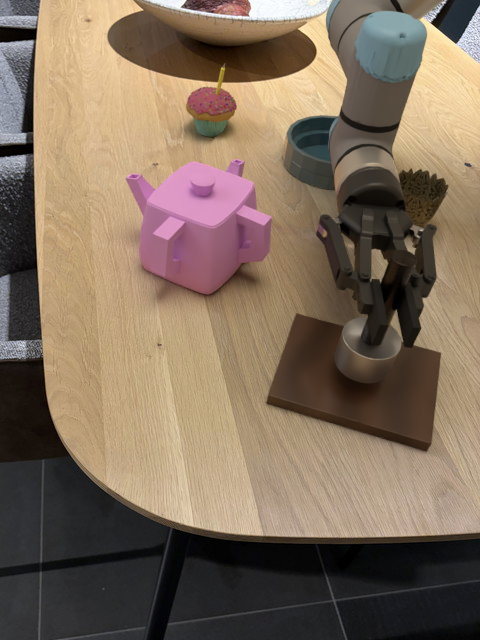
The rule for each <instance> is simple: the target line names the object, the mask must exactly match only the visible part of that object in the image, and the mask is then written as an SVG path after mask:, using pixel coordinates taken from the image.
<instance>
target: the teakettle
mask: <svg viewBox="0 0 480 640" xmlns="http://www.w3.org/2000/svg"><path fill="white" fill-rule="evenodd" d="M245 163H246V161H244V160H241V159H238V158H234V159H233V160H231V161H230V162H229V165H228V167H227V168H226V170H223V169H220V168H217V167H215V166H212V165H208V164H205V163H202V162H199V161H194V160H192V161H189V162H187V163H185V164H184V165H182V166H181V167H179V168H178V169H177V170H175V171H174V172H173V173H171V174H170V175H169V176H168V177H166V179H164V180H163V182H162V183H160V185H158V186H157V188H156V189H155V188H154V187H153V186H152V185H151V183H150V182H148V181H147V180H146V178H145V177H144V176H143V174H141V173H134V172H131V173H130V174H128V176H126V177H125V180H126V183H127V185H128V187H129V189H130V191H131V193H132V195H133V197H134V199H135V202H136V204H137V206H138V208H139V210H140V212H141V214H142V221H141V226H140V233H139V243H138V255H139V260H140V262H141V265H142V267H143V269H145V270H146V271H147V272H149V273H151V274H153V275H155V276H158V277H160V278H162V279H164V280H167V281H169V282H172V283H174V284H176V285H179V286H181V287H183V288H186V289H188V290H191V291H193V292H197V293H200V294H203V295H207V296H208V295H211V294H214V292H216V291H218V290H219V289H220V288H221V287H222V286H224V284H226V282H228V281H229V279H230V278H231V277H232V276H233V275H234V274H235V273H236V272H237V271H238V270H239V268H240V267H241V265H242V264H245V263H254V262H255V263H256V262H263V261H264V260H265V258H267V256H268V255H269V254H270V252H271V239H272V238H271V237H272V225H273V224H272V223H273V217H272V216H271V215H268V214H266V213H264V212H261V211H259V210H258V206H257V205H258V204H257V195H256V185H255V183H254V181H252V180H249V179H247V178H244V177H243V174H244V168H245Z"/></svg>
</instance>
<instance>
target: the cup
mask: <svg viewBox="0 0 480 640" xmlns="http://www.w3.org/2000/svg"><path fill="white" fill-rule="evenodd" d="M398 176H399V180H400V185H401V188H402V192H403V196H404V199H405V205H406V213H407V215H408V216H409V217H410V218H411V219H412V220H413V225H416V226H418V227H422V226H424V225H425V226H426V225H427V224H429V223H430V221H431V220H432V219H433V217H434V216H435V215H436V213H437V212H438V210H439V208H440V207H441V205H442V203H443V201H444V199H445V197H446V196H447V194H448V190H449V184H447V182H446V179H445V178H444V177H441V178H438V174H437V173H436V172H435V173H433V174H431V175H430V171H429V170H428V169H427V170H423V169H422V168H419V169H418V170H416V171H415V172H414V171H413V168H410V169H409V170H408V171H407V170H404V169H401V170H400V172H398Z"/></svg>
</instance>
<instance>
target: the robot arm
mask: <svg viewBox="0 0 480 640" xmlns="http://www.w3.org/2000/svg"><path fill="white" fill-rule="evenodd" d="M444 1H445V0H331V2H330V4H329V6H328V8H327V11H326V14H325V15H326V16H325V29H326V32H327V38H328V41H329V45H330V47H331V49H332V50H333V52H334V53H335V55H336V57H337V59H338V62H339V64H340V67H341V69H342V71H343V73H344V76H345V78H346V85H345V89H344V94H343V99H342V104H341V106H340V109H339V113H338V115H337V116H338V117H337V118H336V119H335V120H334V122H333V123H332V125H331V128H330V132H329V141H328V150H329V155H330V158H331V163H332V170H333V176H334V184H335V190H334V191H335V198H336V206H337V214H338V215H337V217H331V216H330V214H325V213H324V214H323V213H322V214H321V215H320V217H319V220H318V224H317V227H316V231H315V236H316V238H317V239H318V240H319V241H320V242H321V243H322V245H323V247H324V250H325V253H326V257H327V260H328V264H329V267H330V271H331V274H332V277H333V281H334V285H335V287H336V289H337V290H339V291H346V290H348V289H349V290H351V291H352V294H351V299H352V301H355V302H356V305H357V306H356V307H357V311H358V312H359V313H358V314H360V315H366V316H367V317H368V322H369V328H370V334H371V341H372V344H374V345H380V344H381V341H382V339H383V336H384V334H385V332H386V329H387V327H388V322H387V316H386V311H385V306H384V300H383V295H382V290H381V285H380V283H381V280H380V278H372V259H373V258H372V255H373V254H372V250H378V251H380V253H381V256H382V258H383V260H385V261H387V263H388V262H389V260H390V257H391V255H392V253H393V252H394V251H396V250H406V251H409V250H408V248H407V245H406V243H405V239H406V238H407V237H408V236H409V237H410V238H411V243H412V248H413V249H414V253H413V254H414V255H415V256H416V258H417V262H416V265H415V267H414V269H413V272H412V274H411V276H410V279H409V281H408V283H407V286H406V288H405V291H404V293H403V295H402V298H401V300H400V302H399V305H398V307H397V309H396V314H397V319H398V323H399V324H398V325H399V328H400V334H401V340H402V342H403V344H404V347H407V348H412V347H413V345H415V342H416V341H417V338H418V336H419V335H420V332H421V331H422V325H421V321H420V317H421V315H422V313H423V310H424V308H425V303H424V299H427V298H428V297H429V295H430V293H432V292H431V291H432V289H433V288H434V285H435V283H436V281H437V279H438V276H437V267H436V266H437V265H436V257H435V255H436V254H435V247H434V237H435V235H436V232H437V230H438V226H436V225H434V224H432V223H427V224H425V227H424V228H423V227H422V226H420V227H418V226H416V225H413V220H412V219H411V218H410V217H409V216H408V215H407V213H406V205H405V199H404V196H403V192H402V188H401V185H400V180H399V176H398V174H399V172H398V169H397V166H396V161H395V158H394V154H393V146H394V143H395V140H396V137H397V134H398V131H399V129H400V124H401V121H402V119H403V118H402V117H403V114H404V112H405V109H406V106H407V103H408V99H409V98H410V93H411V91H412V88H413V85H414V82H415V80H416V77H417V75H418V74H417V73H418V72H419V69H420V68H421V66H422V62H423V55H424V50H425V47H426V42H427V39H428V30H427V27H426V25H425V24H424V23H423V22H422V21H421V20H422V19H423V18H424V17H425V16H427V15H428V14H429V13H430V12H432V11H433V10H434V9H435V8H437V7H438V6H440V4H442V3H443V2H444ZM344 237H345V238H347V239H348V240H349V241H351V242H352V244H353V257H354V264H353V265H352V262H351V258H350V255H349V252H348V249H347V246H346V243H345V240H344ZM353 267H354V268H353Z"/></svg>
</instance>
